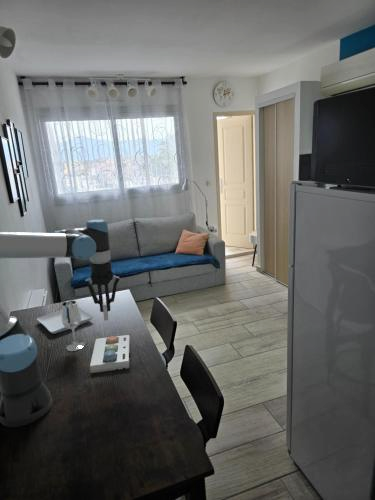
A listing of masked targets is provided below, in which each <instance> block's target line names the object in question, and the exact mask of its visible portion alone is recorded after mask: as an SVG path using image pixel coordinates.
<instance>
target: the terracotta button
mask: <svg viewBox="0 0 375 500" xmlns="http://www.w3.org/2000/svg"><path fill="white" fill-rule="evenodd" d="M106 338H107V337H106ZM116 343H118V339H117V337H116V336H115V335H112V336H109V338H107V345H108V344H116Z"/></svg>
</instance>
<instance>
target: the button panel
mask: <svg viewBox="0 0 375 500" xmlns="http://www.w3.org/2000/svg"><path fill="white" fill-rule="evenodd" d="M109 337H110V336H109ZM109 337H102V338H101V337H100V338H95V343H94V346H93V350H92V355H91V360H90V364H89V368H90V369H89V370H90V374H94V373H101V372H109V371H117V370H116V369H118V370H124V369H123V368H125V369H130V358H129V353H131V352H130V351H131V350H130V349H131V348H130V346H131V339H130V334H126V335H125V334H123V335H117V336H116V337H117V339H118V343H116V344H115V345H116V346H117V352H115V354H116V361H115V362H107V363H105V362H104V353H105V352H106V349H105V347H106V346H107V338H109ZM108 345H110V344H108Z"/></svg>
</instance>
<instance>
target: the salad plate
mask: <svg viewBox="0 0 375 500" xmlns="http://www.w3.org/2000/svg"><path fill="white" fill-rule="evenodd" d="M78 308H79V311H80V314H81V323H80V324H79V326H81V325H84V324H86V323H88V322H90V321H91V320H93V318H94V316H93V315H92V314H91V313H90V312H88V311H85V310H84V309H82V308H81V307H80V306H78ZM61 313H62V309H61V310H57V311H54V312H51V313H49V314H45V315H42V316H39V317H37V318H36V321H38V322H39V323H40V324H41V325H42V326H44V327H45V328H46V329H47V331H49V332H50V333H51V334H59V333H63V332H65V331H68V330H69V329H68V328H66V327H65V326H63V324H62V320H61Z"/></svg>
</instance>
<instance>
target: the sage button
mask: <svg viewBox="0 0 375 500" xmlns="http://www.w3.org/2000/svg"><path fill="white" fill-rule="evenodd" d="M105 349H106V352H107V351H110V350H112V351H115V352H117V346H116V345H115V344H110V345H107V346H106V347H105Z"/></svg>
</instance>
